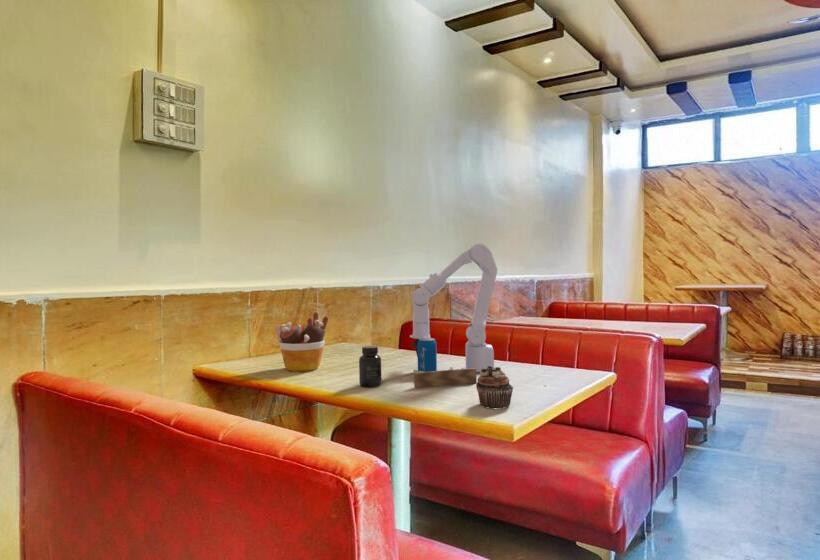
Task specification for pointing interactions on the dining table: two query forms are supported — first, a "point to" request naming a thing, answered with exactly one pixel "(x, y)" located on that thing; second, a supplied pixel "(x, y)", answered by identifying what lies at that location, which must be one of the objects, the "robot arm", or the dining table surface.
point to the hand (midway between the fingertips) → (421, 361)
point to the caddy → (444, 377)
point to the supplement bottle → (370, 367)
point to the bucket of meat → (302, 344)
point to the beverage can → (427, 355)
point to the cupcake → (494, 388)
